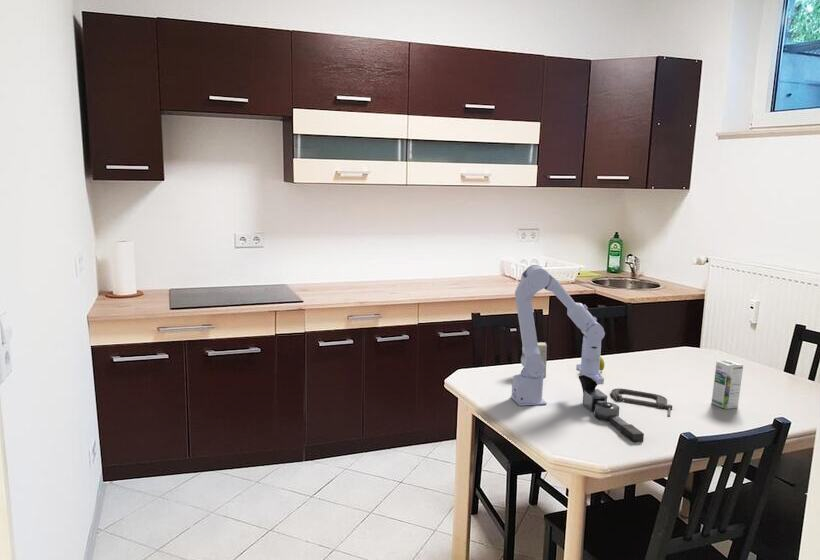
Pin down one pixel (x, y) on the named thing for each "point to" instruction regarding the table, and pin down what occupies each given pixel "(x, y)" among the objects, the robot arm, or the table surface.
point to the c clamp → (659, 403)
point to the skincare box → (543, 353)
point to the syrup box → (727, 384)
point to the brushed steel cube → (592, 398)
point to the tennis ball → (601, 364)
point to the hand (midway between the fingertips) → (587, 398)
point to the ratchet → (616, 420)
